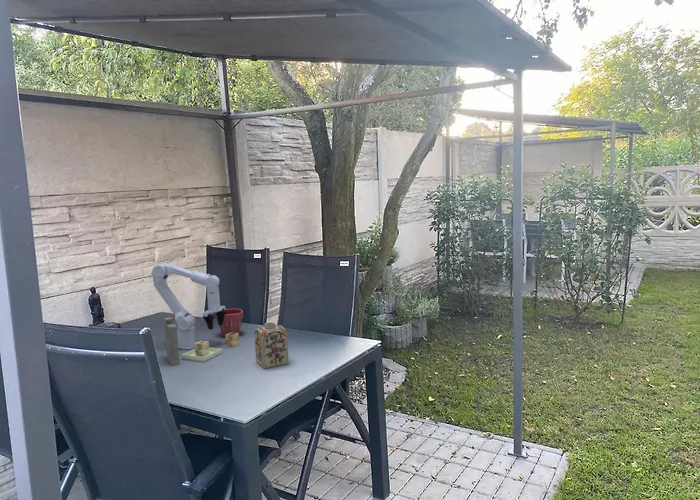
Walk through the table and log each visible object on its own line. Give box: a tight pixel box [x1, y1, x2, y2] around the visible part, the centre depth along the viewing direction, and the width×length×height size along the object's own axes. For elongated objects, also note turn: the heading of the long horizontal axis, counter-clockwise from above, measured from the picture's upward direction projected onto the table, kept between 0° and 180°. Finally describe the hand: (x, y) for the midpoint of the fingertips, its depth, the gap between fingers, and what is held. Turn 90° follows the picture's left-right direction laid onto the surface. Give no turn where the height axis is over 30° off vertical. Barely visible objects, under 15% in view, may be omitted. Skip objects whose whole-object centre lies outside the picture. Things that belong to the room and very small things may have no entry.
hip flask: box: [163, 317, 180, 366], centre depth 237 cm, size 16×4×20 cm, turn 29°
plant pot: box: [215, 308, 244, 338], centre depth 276 cm, size 14×14×13 cm
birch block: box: [194, 340, 210, 357], centre depth 242 cm, size 4×4×6 cm
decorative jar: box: [253, 322, 289, 369], centre depth 228 cm, size 12×12×18 cm
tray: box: [181, 346, 224, 363], centre depth 242 cm, size 13×13×2 cm
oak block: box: [225, 332, 240, 348], centre depth 257 cm, size 4×4×6 cm
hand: (215, 327), depth 257 cm, fingers open, 7 cm apart
